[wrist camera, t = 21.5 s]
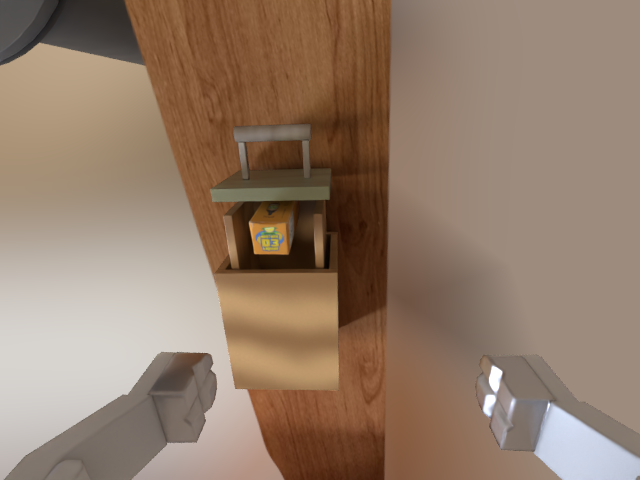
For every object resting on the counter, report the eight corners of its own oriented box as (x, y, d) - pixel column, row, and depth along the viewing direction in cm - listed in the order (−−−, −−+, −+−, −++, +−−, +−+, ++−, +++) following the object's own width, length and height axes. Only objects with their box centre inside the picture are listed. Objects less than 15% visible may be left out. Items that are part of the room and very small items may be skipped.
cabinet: (244, 232, 40) (214, 273, 30) (337, 231, 39) (337, 272, 29) (256, 328, 45) (235, 389, 36) (338, 328, 45) (339, 390, 35)
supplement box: (272, 218, 37) (250, 255, 28) (270, 189, 35) (246, 217, 26) (300, 218, 37) (288, 256, 27) (300, 189, 35) (287, 218, 26)
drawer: (232, 124, 34) (200, 129, 26) (330, 120, 33) (328, 125, 25) (252, 276, 41) (231, 317, 33) (333, 275, 40) (332, 317, 32)
